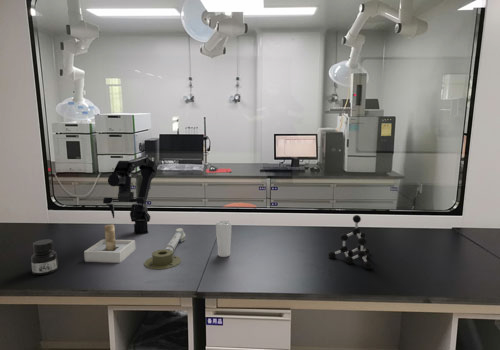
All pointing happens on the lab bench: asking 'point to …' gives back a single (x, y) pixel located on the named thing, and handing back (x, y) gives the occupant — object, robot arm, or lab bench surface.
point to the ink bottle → (44, 257)
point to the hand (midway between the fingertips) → (123, 218)
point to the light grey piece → (176, 239)
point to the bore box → (101, 255)
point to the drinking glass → (223, 237)
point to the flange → (162, 260)
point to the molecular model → (362, 249)
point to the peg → (110, 238)
